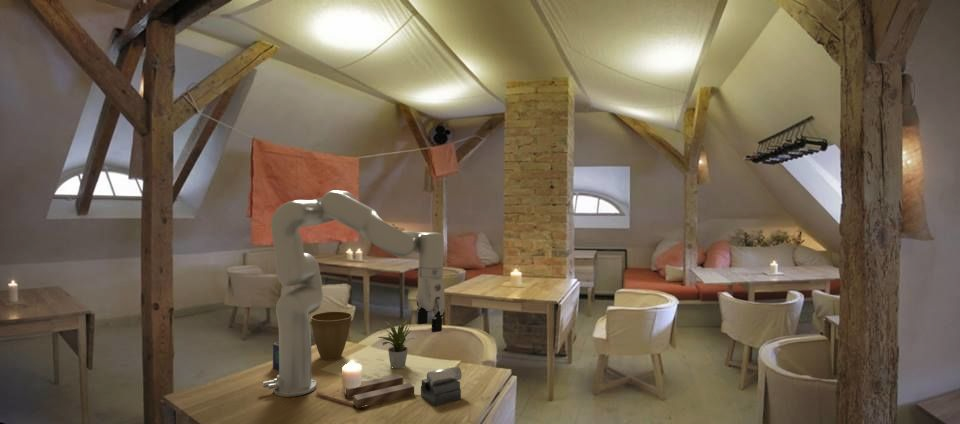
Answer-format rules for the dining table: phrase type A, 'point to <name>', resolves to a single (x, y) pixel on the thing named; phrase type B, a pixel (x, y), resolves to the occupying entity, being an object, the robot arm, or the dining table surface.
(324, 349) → the plant pot
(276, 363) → the flask
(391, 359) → the house plant
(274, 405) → the dining table surface
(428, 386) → the v-block
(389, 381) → the parallel rectangular beams
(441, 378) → the axle
